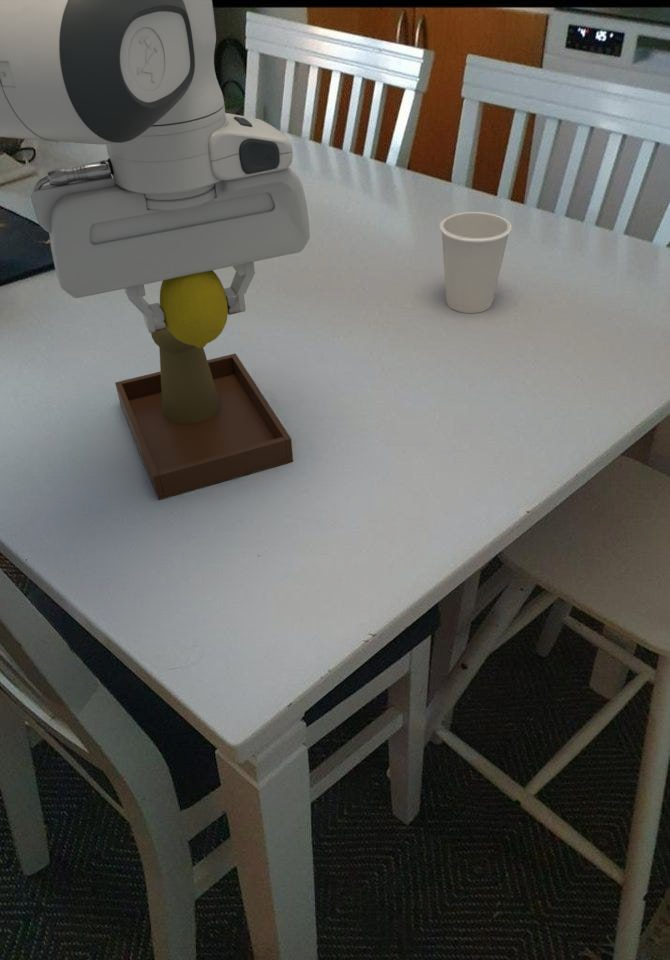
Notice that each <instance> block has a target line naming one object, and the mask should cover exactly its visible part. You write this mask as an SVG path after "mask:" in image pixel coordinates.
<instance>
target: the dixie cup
mask: <svg viewBox="0 0 670 960" xmlns="http://www.w3.org/2000/svg"><path fill="white" fill-rule="evenodd" d="M512 228H513V227H512V224H511V223H510V221H508V219H506V218H504V217H502V216H500V215H498V214H495V213H491V212H484V211H463V212H458V213H457V212H456V213H454V214H450V215H449V216H446V217H445V218H444V219H442V220H441V221H440V223H439V231H440V232H441V242H442V255H443V269H444V271H443V272H444V285H445V286H444V287H445V297H446V298H445V299H446V300H445V301H446V305H447V306H448V307H449V308H450V309H452V310H453V311H456V312H459V313H463V314H478V313H483V312H485V311H487V310H489V309H490V308H491V307H493V303H494V299H495V294H496V290H497V286H498V285H497V284H498V282H499V277H500V273H501V269H502V266H503V265H502V264H503V259H504V255H505V251H506V248H507V243H508V239H509V235H510V234H511V232H512Z"/></svg>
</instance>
